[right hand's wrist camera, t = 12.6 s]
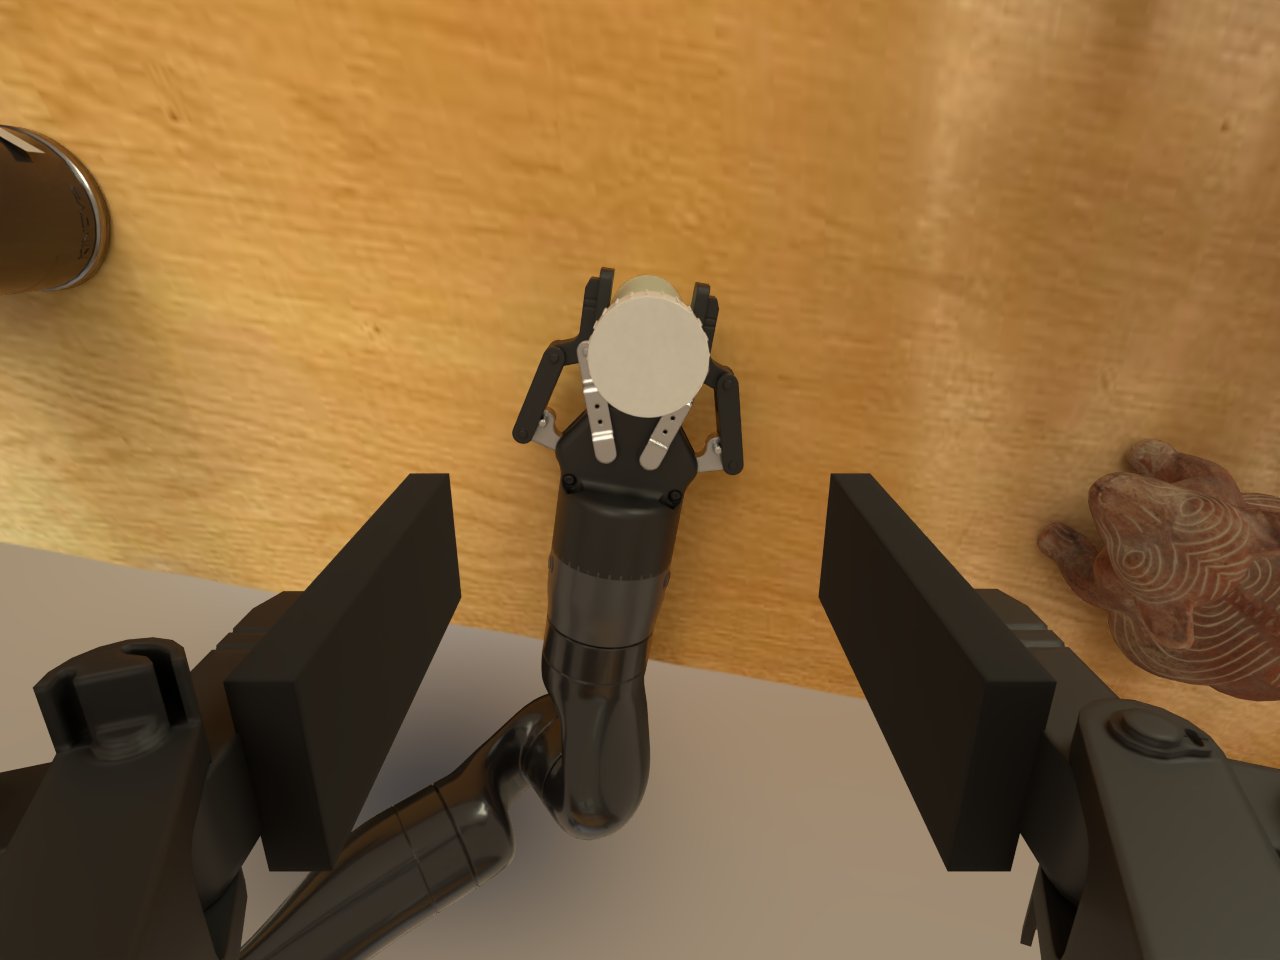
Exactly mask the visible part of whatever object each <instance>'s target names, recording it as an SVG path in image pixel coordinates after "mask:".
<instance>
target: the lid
mask: <svg viewBox="0 0 1280 960" xmlns="http://www.w3.org/2000/svg"><path fill="white" fill-rule="evenodd" d="M701 326H702V323H701V321H700V319H699V318H696V316H695V315H694V313H693V311H692V309H691V307H690V306H688V307H687V306H686V305H685V304H684V303H683V302H681V301H680V300H679V298H678V297H676V298H675V297H672V296H670V295H668V294H665V293H664V291H661V292H655V291H648V289H646V291H642V292H636V293H633V292H630V294H629V295H627V296H624V297H622V298H620V299H618V298H617V299H616V301H615V302H614V303H613V304H612V305H611V306H610V307H609V308H605V309H604V311H603V314H602V316H601V317H600V319H599V321H596V322H595V325H594V327H593V328H594V332H593V334H592V335H591V336H590V338H589V341H588V344H589V348H588V355H587V360H588V366H589V371H590V373H589V374H590V375H591V378H592V381H593V383H594V385H595V387H596V388H597V390H598V392H599V393H600V394H601V396H602V397H603V398H604V399H605V400H606V401H607V402H608V403H609V404H611V405H612V406H613V407H615V408H616V409H618V410H620V411H622V412H624V413H626V414H629V415H633V416H637V417H646V418H651V417H660V416H664V415H667V414H670V413H673V412H675V411H677V410H679V409H680V408H682V407H683V406H685V405H686V404H687V403H688V402H690V401H691V400H692V399H693V397H694V396H695V395H696V394H697V393H698V391H699V390H700V388H701V386H702V384H703V382H704V380H705V378H706V375H707V372H708V366H709V357H710V353H709V348H708V342H707V341H708V337H707V335H706V334H705V332H704V331H703V329H702V327H701Z"/></svg>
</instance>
